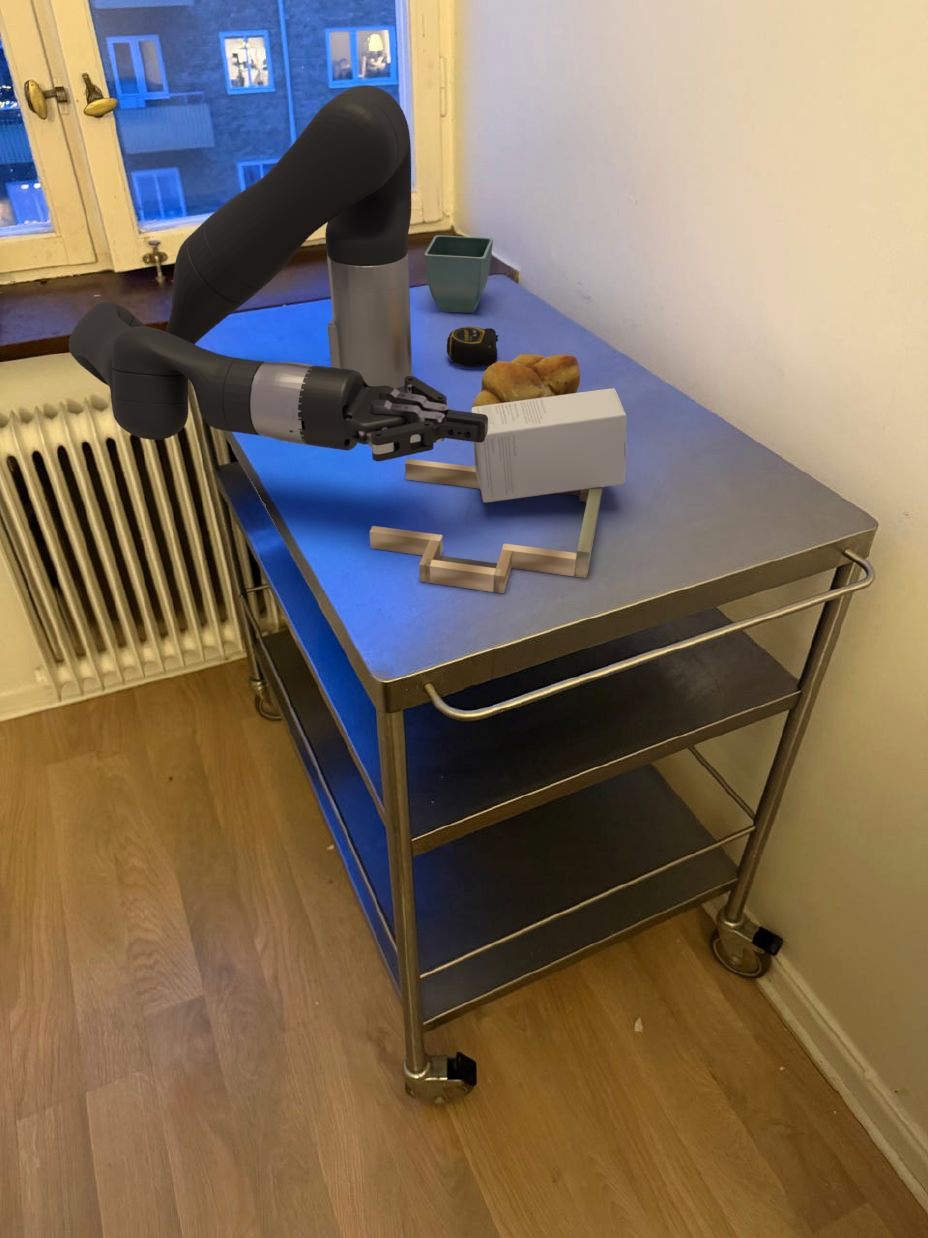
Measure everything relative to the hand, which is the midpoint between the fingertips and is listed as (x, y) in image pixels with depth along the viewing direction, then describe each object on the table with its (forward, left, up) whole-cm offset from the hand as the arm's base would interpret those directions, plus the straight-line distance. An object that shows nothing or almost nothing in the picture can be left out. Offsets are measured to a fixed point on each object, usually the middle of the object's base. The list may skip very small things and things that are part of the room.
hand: (486, 429), depth 82 cm
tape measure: (-9, +39, -12) cm, 41 cm away
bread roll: (-1, +25, -11) cm, 27 cm away
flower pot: (-15, +56, -11) cm, 59 cm away
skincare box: (-2, +4, -5) cm, 7 cm away
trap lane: (+1, +2, -11) cm, 11 cm away
